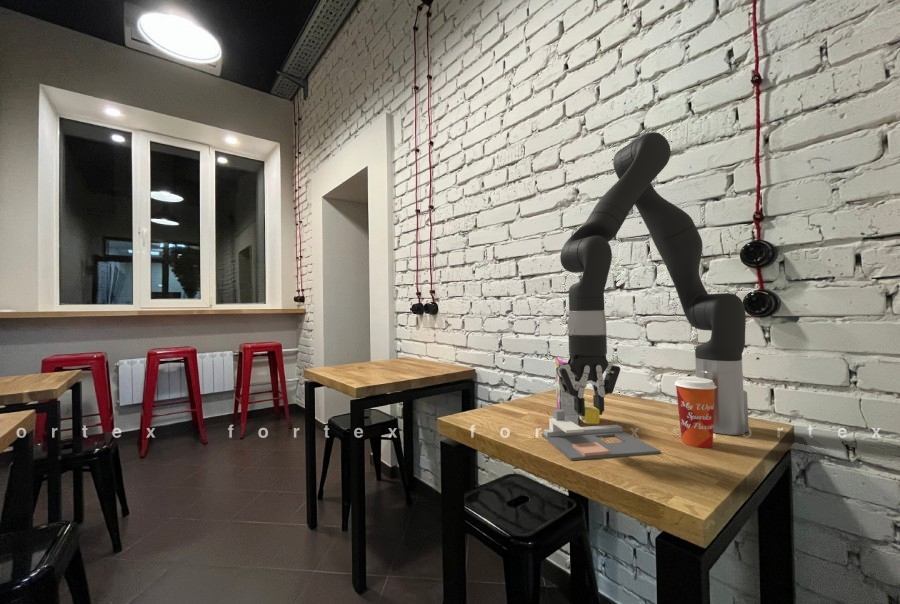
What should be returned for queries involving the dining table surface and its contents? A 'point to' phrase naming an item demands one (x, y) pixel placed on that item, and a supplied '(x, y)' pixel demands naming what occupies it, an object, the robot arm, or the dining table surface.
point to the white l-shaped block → (562, 423)
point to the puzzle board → (597, 443)
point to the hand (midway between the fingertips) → (589, 414)
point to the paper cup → (696, 410)
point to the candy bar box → (563, 398)
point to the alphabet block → (590, 415)
